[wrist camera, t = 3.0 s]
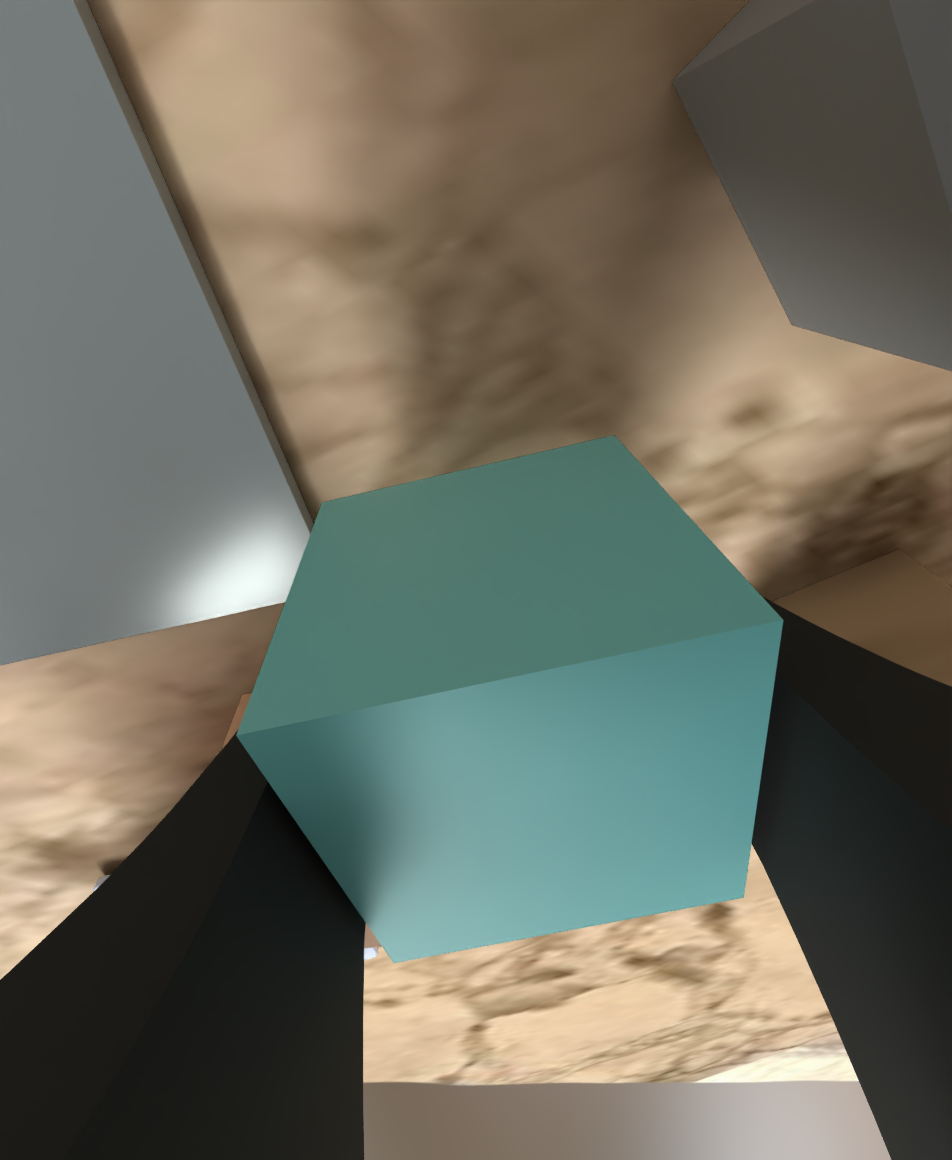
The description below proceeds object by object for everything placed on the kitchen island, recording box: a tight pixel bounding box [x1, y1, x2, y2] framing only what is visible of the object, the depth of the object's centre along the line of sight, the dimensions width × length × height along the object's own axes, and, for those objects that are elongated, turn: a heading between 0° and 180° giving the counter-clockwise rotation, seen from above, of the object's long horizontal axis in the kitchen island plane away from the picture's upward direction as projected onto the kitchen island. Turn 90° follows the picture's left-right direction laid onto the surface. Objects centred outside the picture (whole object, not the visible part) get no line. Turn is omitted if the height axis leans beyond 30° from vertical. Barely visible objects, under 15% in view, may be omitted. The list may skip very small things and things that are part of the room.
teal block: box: [236, 435, 783, 963], centre depth 8 cm, size 5×5×5 cm
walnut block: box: [772, 549, 952, 687], centre depth 14 cm, size 5×5×5 cm
